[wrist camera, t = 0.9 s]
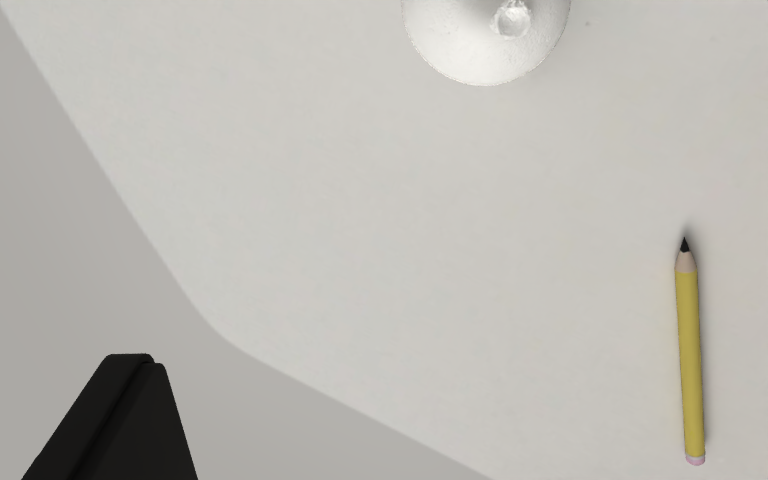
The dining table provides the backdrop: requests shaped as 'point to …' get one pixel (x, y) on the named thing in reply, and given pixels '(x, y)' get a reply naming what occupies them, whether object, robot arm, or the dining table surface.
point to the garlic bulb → (484, 36)
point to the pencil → (690, 354)
